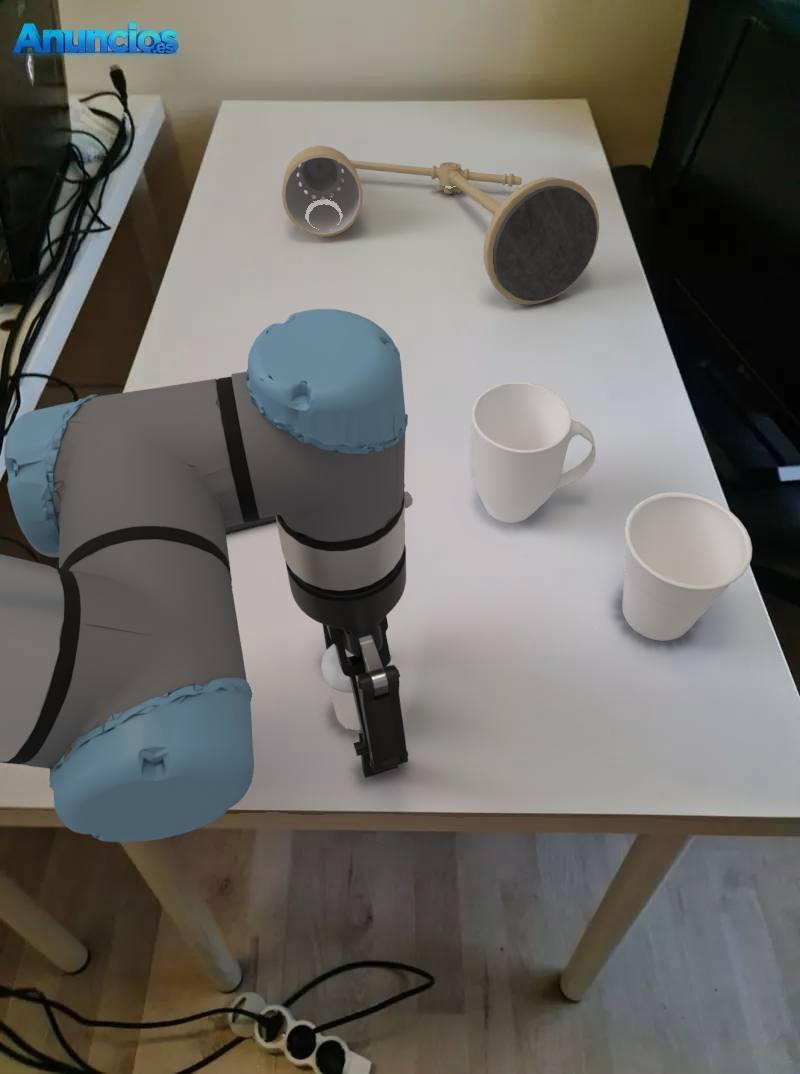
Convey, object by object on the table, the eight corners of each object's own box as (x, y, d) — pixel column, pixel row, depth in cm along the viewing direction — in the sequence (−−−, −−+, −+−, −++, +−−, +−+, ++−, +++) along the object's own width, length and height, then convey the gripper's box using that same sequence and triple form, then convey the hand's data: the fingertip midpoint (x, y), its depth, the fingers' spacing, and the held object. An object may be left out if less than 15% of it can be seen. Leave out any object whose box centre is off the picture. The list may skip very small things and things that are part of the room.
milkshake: (387, 744, 67) (385, 684, 59) (323, 733, 68) (312, 673, 60) (398, 694, 70) (396, 631, 62) (336, 684, 70) (327, 620, 63)
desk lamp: (626, 176, 96) (479, 96, 124) (339, 196, 85) (250, 103, 114) (599, 298, 105) (469, 198, 134) (339, 330, 95) (257, 214, 123)
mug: (469, 539, 80) (477, 452, 71) (460, 472, 86) (467, 383, 76) (589, 534, 80) (613, 447, 71) (573, 468, 86) (593, 378, 77)
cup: (603, 561, 78) (627, 483, 70) (711, 578, 77) (749, 500, 68) (597, 650, 72) (622, 577, 64) (714, 671, 71) (756, 598, 62)
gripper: (467, 680, 45) (451, 825, 63) (352, 414, 58) (365, 595, 76) (334, 721, 44) (355, 857, 61) (247, 439, 57) (285, 617, 74)
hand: (361, 712), depth 69 cm, fingers open, 10 cm apart
